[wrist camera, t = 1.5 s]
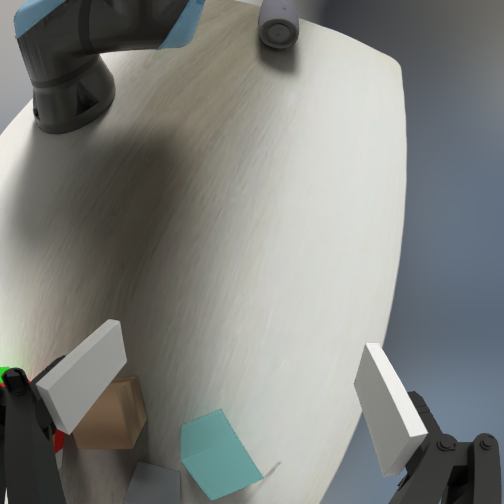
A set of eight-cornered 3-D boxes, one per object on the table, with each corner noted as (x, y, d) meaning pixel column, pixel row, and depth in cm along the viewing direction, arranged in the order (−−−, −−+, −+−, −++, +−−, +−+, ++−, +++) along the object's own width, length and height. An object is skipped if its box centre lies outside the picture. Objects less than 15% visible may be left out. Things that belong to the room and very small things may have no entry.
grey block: (138, 460, 23) (123, 501, 14) (180, 471, 24) (180, 516, 15) (133, 490, 21) (119, 533, 12) (173, 500, 22) (173, 547, 13)
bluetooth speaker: (292, 57, 50) (307, 23, 41) (251, 47, 49) (263, 11, 39) (289, 22, 58) (300, -5, 49) (257, 14, 56) (266, -13, 47)
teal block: (181, 425, 26) (180, 459, 17) (220, 408, 28) (236, 436, 18) (202, 458, 25) (211, 500, 16) (240, 442, 27) (264, 478, 17)
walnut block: (96, 379, 25) (61, 392, 16) (137, 376, 27) (116, 391, 17) (106, 420, 24) (77, 448, 15) (147, 417, 25) (132, 448, 16)
